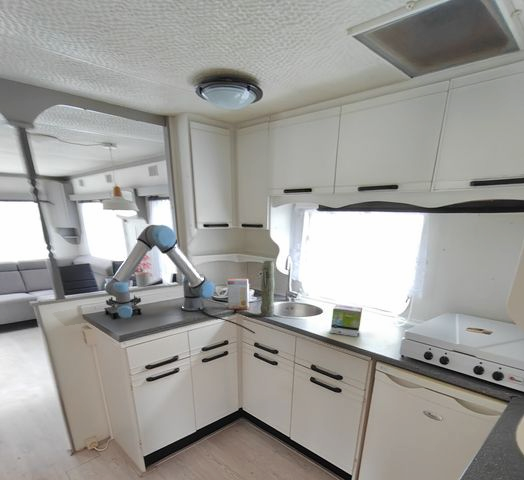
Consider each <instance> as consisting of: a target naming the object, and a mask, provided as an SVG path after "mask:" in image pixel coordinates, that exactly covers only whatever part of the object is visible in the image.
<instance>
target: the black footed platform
mask: <svg viewBox="0 0 524 480" xmlns="http://www.w3.org/2000/svg"><path fill="white" fill-rule="evenodd" d="M131 306H132V311H133V312H137V315H142V311H141V310H142V309H141V307H138V305H133V304H132V305H131ZM103 309H104V313H105V315H110V314H111V316H112V319H113V320H116V319H117V315H119V314H118V311H117V310H118V309H117V306H114V307H112V306H109V307H104V308H103Z"/></svg>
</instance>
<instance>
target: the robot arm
mask: <svg viewBox="0 0 524 480" xmlns="http://www.w3.org/2000/svg"><path fill="white" fill-rule="evenodd" d="M176 237H177V236H176V233H175V231H174V230H173V229H172V228H171V227H170V226H168V225H164V224H150V225H148V226H146V227H145V228H144V229H143V230H142V231H141V232H140V234H139V235H138V237H137V238H136V239H135V242H136V243H135V245H134V246H133V248H132V249H131V251H130V252H129V254H128V255H127V256H126V258H125V260H124V261H123V263H122V264H121V265H120V266H119V268H118V270H117V271H116V272H115V274H114V276H113V277H112V278H111V280H110V281H107V282H106V283H104V286H103V287H104V291H105V292H106V293H107V295H110V296H111V297H110V298H108V299H105V305H106V306H109V307H114V306H117V309H118V310H117V311H118V314H117V315H118V316H119V317H120V318H121V319H129V318H131V317H132V315H133V312H134V311H132V306H131V305H132V304H133V305H135V306H137V305H138V304H139V303H141V302H142V299H141V297H136V295H133V298H131V295H130V286H129V283H128V281H129V280H130V279H131V277H132V276H133V274H134V272H135V271H136V270H137V268H138V267H139V266H140V264H141V262H142V261H143V259H144V258H145V256H146V255H147V254H148V253H149V252H151V251H152V249H153V248H155V247H156V248H157V249H158V250H159V252H160V253H161V254H164V255H166V256H167V257H168V258H169V259H170V261H171V262H172V263H173V264H174V265H175V266H176V268H177V269H178V271H179V272H180V273H181V274H182V275H183V277H182V287H183V288H182V289H183V301H182V306H181V307H182V308H181V309H182V310H183V311H186V312H201V313H203V314H204V315H206V316H208V317H212V318H215V319H219V320H222V321H225V322H228V323H230V324H234V325H236V326H238V327H241V328H243V329H245V330H247V331H248V332H250V333H252V334H253V335H255V334H256V332H255V331H254V330H252V329H249V328H248V327H247V326H244V325H242V324H239V323H238V322H234V321H232V320H229V319H226V318H222V317H219V316H216V315H212V314H209V313H207V312H205V311H204V310H205V303H204V301H203V299H210V298H211V297H212V296H213V295H214V294H215V287H216V286H215V284H214V283H213V282H212V281H211V280H208V279H207V277H206V276H205V275H204V274H203V273H200V272H199V271H198V270H197V269H196V267H195V266H194V264H193V263H192V261H190V259H189V258H188V257H187V255H186V254H185V253H184V251H183V250H182V249H181V248H180V246H179V245H178V243H179V241H178V240H177V239H176ZM113 297H115V300H114V299H113Z"/></svg>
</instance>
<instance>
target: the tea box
mask: <svg viewBox="0 0 524 480" xmlns="http://www.w3.org/2000/svg"><path fill="white" fill-rule="evenodd" d="M332 309H333V310H332V315H331V325H330V333H331V334H338V335H344V336H351V337H358V334H359V332H360V327H361V319H362V313H363V307H361V306H360V307H359V306H352V305H342V304H335V306H334V307H333V308H332Z"/></svg>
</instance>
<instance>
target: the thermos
mask: <svg viewBox="0 0 524 480" xmlns="http://www.w3.org/2000/svg"><path fill="white" fill-rule="evenodd" d="M261 269H262V270H261V271H262V272H261V274H262V276H261V280H260V290H261V305H260V316H261V317H265V318H270V317H274V316H275V304H274V300H275V297H274V296H275V288H276V287H275V285H276V280H275V275H274V274H275V264H274V261H272V260H264V261H263V263H262V267H261Z"/></svg>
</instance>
